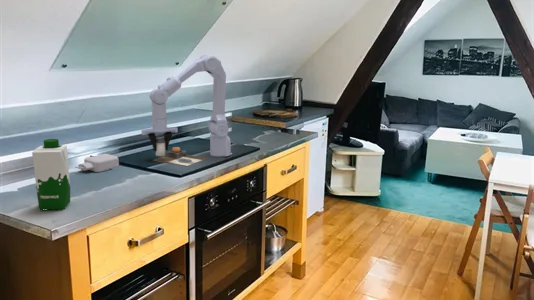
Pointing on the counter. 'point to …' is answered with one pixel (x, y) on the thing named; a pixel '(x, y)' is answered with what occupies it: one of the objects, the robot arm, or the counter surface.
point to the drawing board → (180, 158)
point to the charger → (99, 163)
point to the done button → (176, 149)
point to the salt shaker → (160, 146)
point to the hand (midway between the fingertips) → (160, 150)
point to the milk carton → (52, 175)
